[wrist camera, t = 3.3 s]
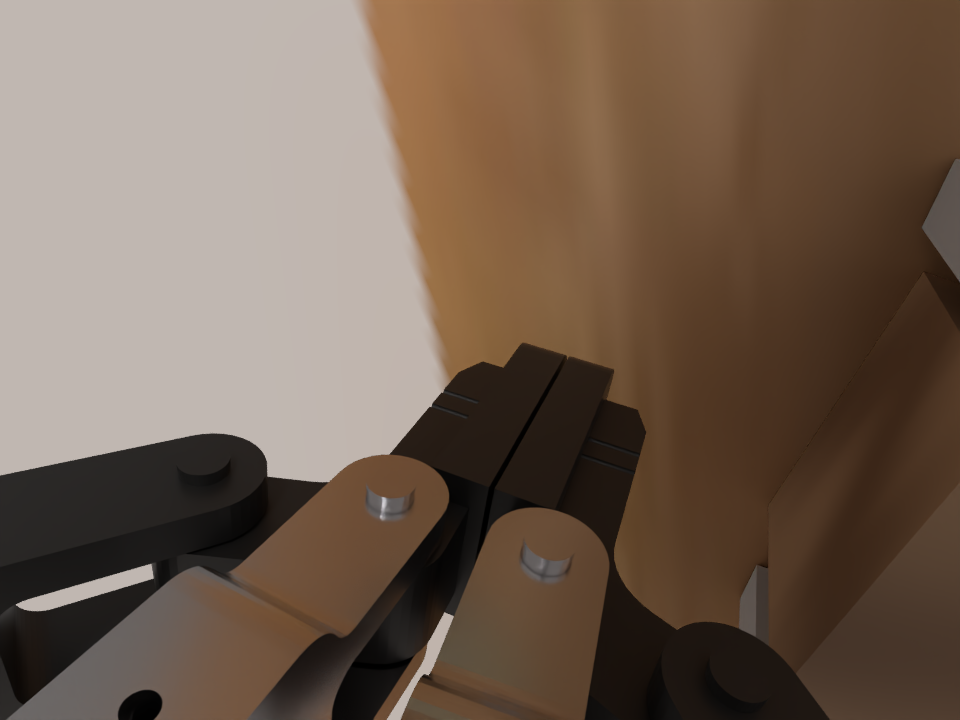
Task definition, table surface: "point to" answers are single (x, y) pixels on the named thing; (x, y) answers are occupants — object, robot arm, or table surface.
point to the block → (879, 529)
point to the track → (956, 235)
